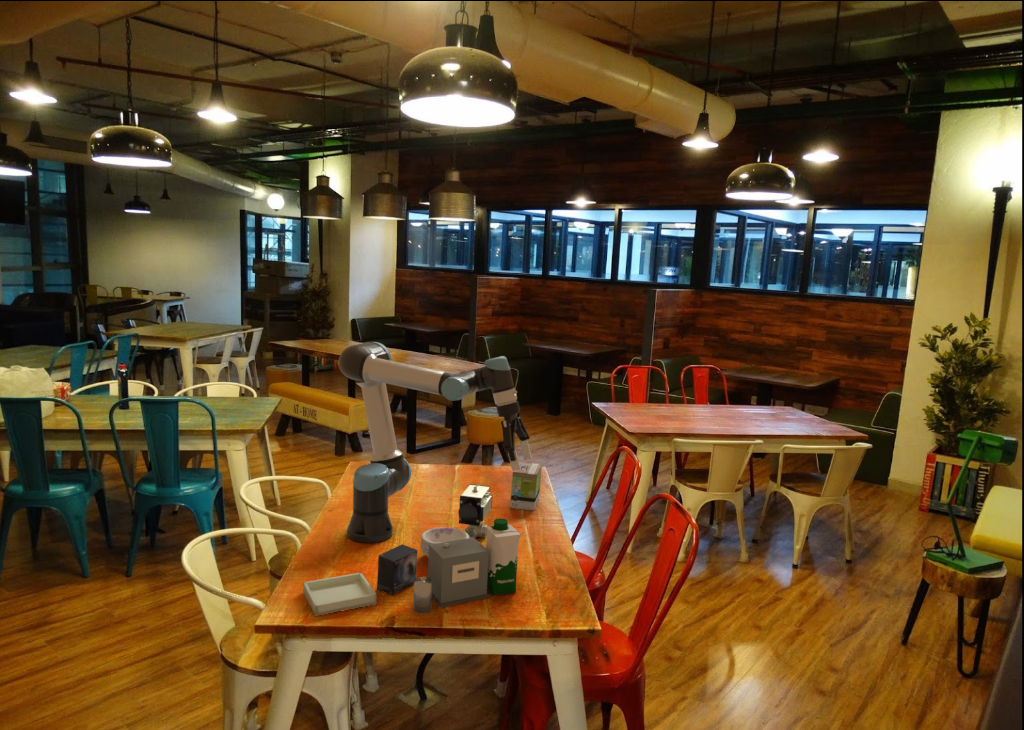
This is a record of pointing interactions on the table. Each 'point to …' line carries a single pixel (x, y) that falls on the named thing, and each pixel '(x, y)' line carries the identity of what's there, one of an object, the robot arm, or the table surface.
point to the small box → (396, 569)
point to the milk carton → (502, 557)
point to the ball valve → (475, 509)
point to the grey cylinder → (422, 595)
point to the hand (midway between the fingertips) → (522, 464)
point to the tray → (339, 593)
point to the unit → (458, 571)
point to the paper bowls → (440, 537)
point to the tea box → (526, 486)
